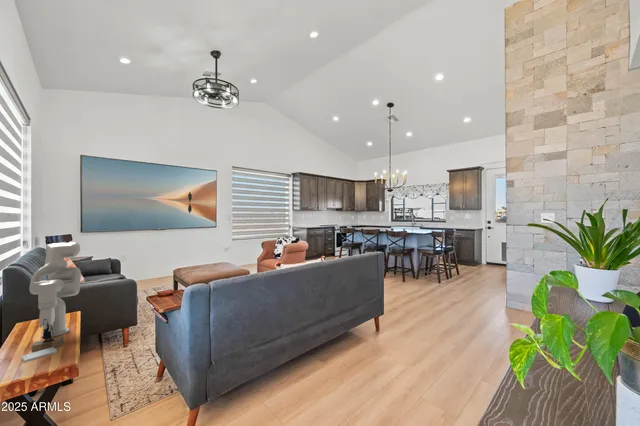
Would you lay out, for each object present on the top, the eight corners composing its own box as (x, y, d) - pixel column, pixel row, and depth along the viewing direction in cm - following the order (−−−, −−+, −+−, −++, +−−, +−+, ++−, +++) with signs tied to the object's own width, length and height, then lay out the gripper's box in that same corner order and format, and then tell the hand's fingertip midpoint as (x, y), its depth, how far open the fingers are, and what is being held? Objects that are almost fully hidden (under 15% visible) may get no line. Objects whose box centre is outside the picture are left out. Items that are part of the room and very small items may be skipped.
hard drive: (53, 346, 158) (21, 355, 148) (57, 350, 153) (24, 360, 143) (53, 349, 158) (21, 358, 148) (57, 353, 153) (24, 363, 143)
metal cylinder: (45, 338, 161) (45, 324, 161) (53, 337, 163) (52, 323, 162) (43, 340, 158) (43, 326, 158) (51, 339, 160) (51, 325, 160)
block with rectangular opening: (35, 346, 160) (35, 341, 160) (63, 341, 166) (63, 336, 166) (31, 351, 155) (31, 345, 155) (61, 345, 161) (61, 340, 161)
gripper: (43, 301, 165) (43, 333, 165) (33, 310, 151) (34, 344, 151) (60, 299, 169) (60, 330, 169) (52, 307, 155) (53, 341, 155)
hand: (48, 336), depth 160 cm, fingers open, 3 cm apart
